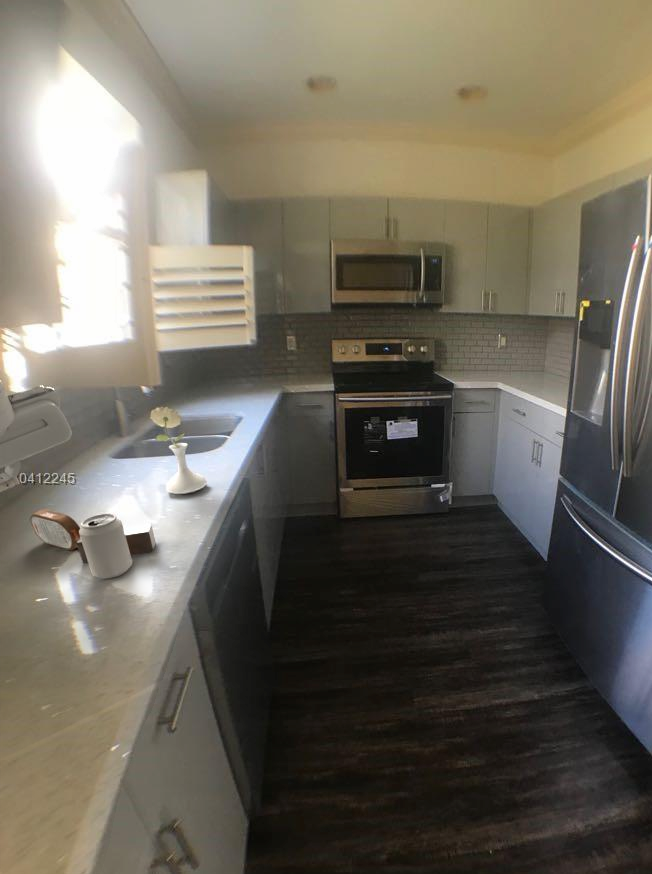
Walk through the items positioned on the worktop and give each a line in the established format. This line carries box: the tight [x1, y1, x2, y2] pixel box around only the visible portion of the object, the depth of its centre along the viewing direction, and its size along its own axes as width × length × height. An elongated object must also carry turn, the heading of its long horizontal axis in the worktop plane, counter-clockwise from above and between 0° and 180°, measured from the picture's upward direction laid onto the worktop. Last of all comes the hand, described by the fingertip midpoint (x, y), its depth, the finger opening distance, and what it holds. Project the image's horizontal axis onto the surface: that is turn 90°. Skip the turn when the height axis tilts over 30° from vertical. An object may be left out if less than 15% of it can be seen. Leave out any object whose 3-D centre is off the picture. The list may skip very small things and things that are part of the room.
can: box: [79, 512, 134, 580], centre depth 93 cm, size 8×8×12 cm
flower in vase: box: [149, 406, 208, 495], centre depth 132 cm, size 13×11×25 cm
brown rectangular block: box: [77, 523, 157, 564], centre depth 101 cm, size 14×4×5 cm, turn 108°
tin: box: [29, 508, 81, 551], centre depth 105 cm, size 15×3×8 cm, turn 65°
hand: (6, 486), depth 67 cm, fingers closed
